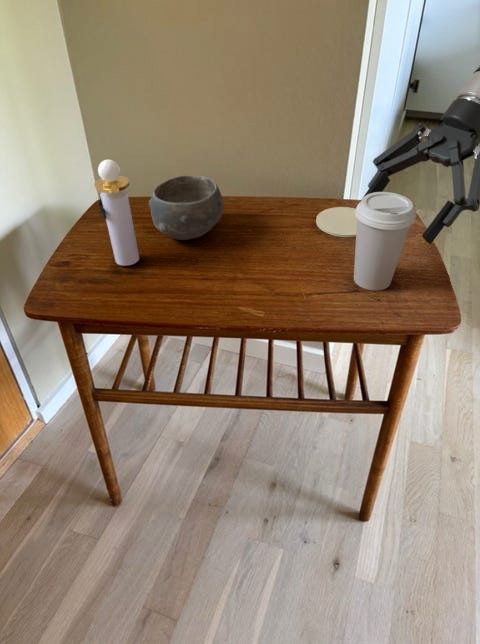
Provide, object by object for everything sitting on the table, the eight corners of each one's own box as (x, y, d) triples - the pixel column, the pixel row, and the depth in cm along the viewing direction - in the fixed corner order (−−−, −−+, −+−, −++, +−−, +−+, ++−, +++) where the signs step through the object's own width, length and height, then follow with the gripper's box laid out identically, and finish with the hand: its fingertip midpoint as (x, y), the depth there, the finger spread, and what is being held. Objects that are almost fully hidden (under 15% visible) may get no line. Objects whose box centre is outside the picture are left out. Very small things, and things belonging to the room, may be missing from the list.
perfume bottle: (141, 252, 95) (123, 151, 82) (144, 268, 91) (126, 164, 77) (112, 256, 94) (88, 155, 81) (113, 272, 90) (89, 169, 76)
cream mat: (385, 222, 102) (385, 220, 101) (350, 244, 95) (350, 241, 95) (339, 204, 108) (339, 201, 108) (304, 223, 102) (304, 220, 102)
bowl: (234, 221, 103) (233, 177, 97) (204, 259, 92) (200, 212, 86) (176, 211, 107) (171, 167, 101) (141, 246, 96) (132, 200, 90)
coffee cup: (341, 291, 84) (352, 213, 74) (348, 261, 91) (359, 186, 81) (398, 300, 82) (417, 221, 72) (401, 269, 89) (419, 193, 79)
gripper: (553, 147, 72) (463, 264, 76) (419, 106, 88) (349, 204, 91) (548, 118, 66) (450, 246, 70) (405, 79, 82) (331, 186, 86)
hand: (392, 223), depth 81 cm, fingers open, 13 cm apart
